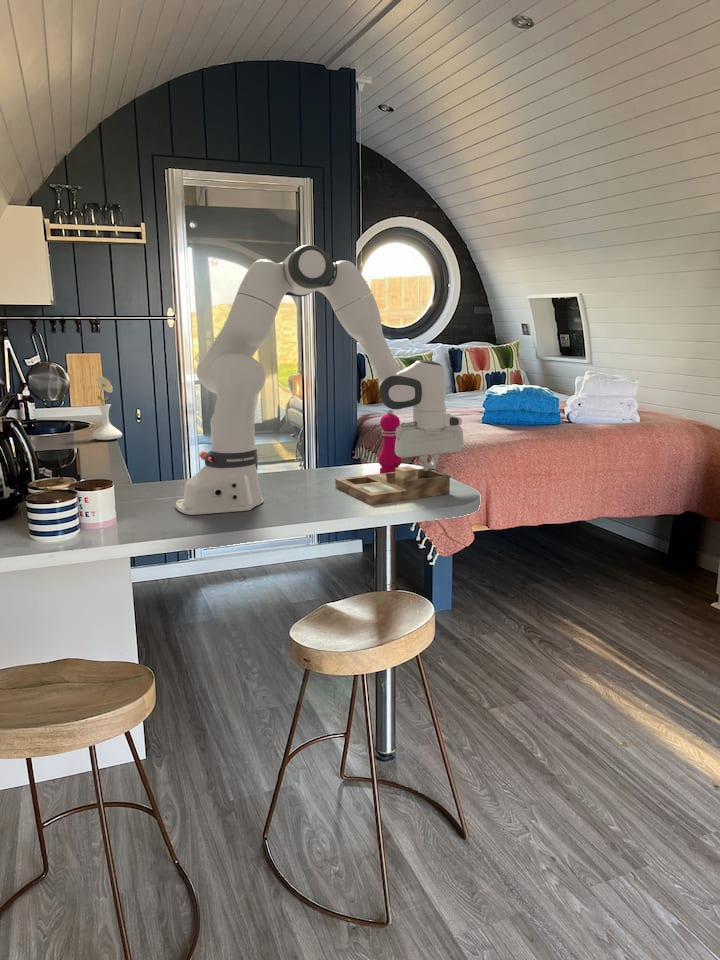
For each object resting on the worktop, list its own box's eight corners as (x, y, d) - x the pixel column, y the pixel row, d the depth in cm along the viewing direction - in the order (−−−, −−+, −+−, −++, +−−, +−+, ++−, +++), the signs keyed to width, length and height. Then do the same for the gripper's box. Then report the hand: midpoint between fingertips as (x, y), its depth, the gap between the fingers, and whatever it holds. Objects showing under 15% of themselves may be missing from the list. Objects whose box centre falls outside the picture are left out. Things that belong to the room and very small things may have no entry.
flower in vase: (125, 440, 294) (120, 376, 289) (95, 443, 289) (89, 378, 283) (118, 435, 305) (112, 374, 300) (89, 438, 300) (83, 375, 294)
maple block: (403, 487, 200) (403, 470, 199) (395, 484, 204) (395, 467, 203) (418, 485, 202) (418, 469, 201) (409, 482, 206) (409, 466, 205)
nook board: (371, 504, 192) (370, 486, 191) (335, 487, 211) (335, 470, 210) (449, 493, 202) (449, 476, 201) (408, 478, 222) (408, 461, 221)
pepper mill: (402, 471, 231) (402, 407, 227) (401, 476, 224) (401, 410, 220) (379, 471, 232) (378, 407, 227) (377, 476, 225) (376, 410, 220)
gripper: (401, 425, 195) (402, 476, 198) (466, 418, 204) (466, 468, 207) (390, 422, 201) (390, 472, 204) (453, 415, 209) (453, 464, 213)
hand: (429, 470), depth 206 cm, fingers closed
